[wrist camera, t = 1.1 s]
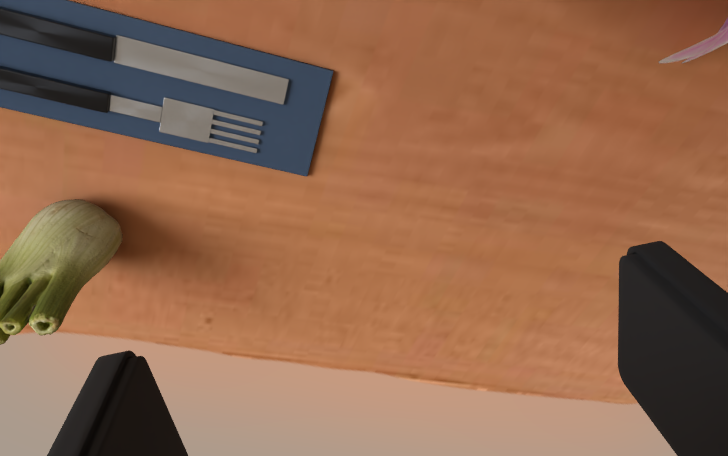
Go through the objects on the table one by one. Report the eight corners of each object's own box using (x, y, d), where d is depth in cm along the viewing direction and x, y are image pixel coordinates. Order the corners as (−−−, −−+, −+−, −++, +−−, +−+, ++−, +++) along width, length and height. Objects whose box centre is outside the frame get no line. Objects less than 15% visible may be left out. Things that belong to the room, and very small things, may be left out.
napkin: (-98, 83, 34) (-102, 84, 33) (-104, -46, 31) (-108, -46, 31) (307, 175, 38) (307, 176, 38) (333, 70, 35) (333, 71, 35)
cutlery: (-35, 86, 34) (-42, 88, 33) (-35, -5, 32) (-42, -5, 31) (272, 156, 37) (271, 160, 37) (289, 78, 35) (288, 80, 35)
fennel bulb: (30, 241, 38) (-77, 354, 28) (44, 177, 37) (-65, 270, 26) (119, 268, 40) (50, 385, 29) (137, 206, 38) (70, 307, 27)
